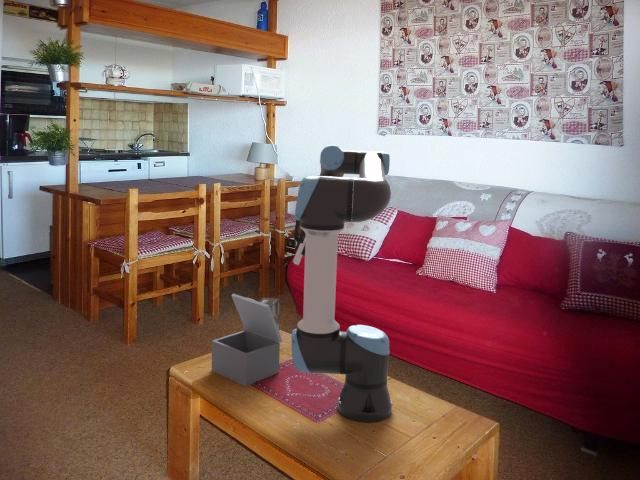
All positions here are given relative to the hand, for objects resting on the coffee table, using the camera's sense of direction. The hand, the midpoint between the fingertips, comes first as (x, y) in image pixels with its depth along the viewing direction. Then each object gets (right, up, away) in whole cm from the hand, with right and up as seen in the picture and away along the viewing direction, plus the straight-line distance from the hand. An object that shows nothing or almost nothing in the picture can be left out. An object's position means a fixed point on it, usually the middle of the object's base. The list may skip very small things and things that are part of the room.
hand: (295, 263), depth 198 cm
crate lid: (-12, -17, -5) cm, 22 cm away
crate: (-16, -34, -5) cm, 38 cm away
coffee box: (-11, -30, +19) cm, 37 cm away
